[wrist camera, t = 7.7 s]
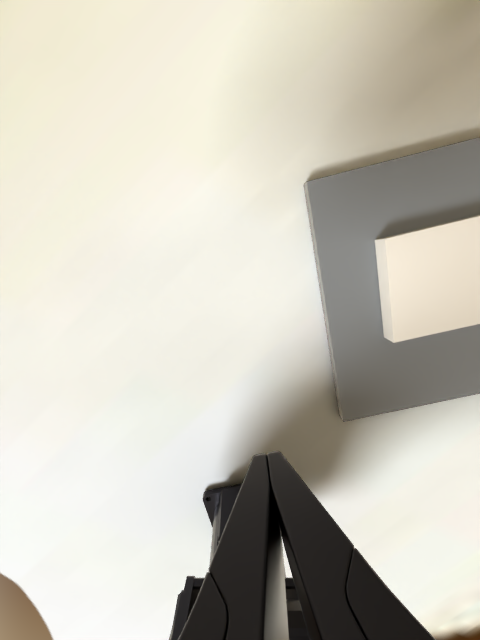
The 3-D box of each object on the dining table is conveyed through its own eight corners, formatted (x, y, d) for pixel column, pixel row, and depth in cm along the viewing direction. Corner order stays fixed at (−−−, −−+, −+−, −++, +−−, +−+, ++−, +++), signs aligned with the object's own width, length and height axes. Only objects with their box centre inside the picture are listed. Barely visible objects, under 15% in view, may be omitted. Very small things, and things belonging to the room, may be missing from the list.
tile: (383, 336, 18) (508, 309, 18) (393, 342, 17) (528, 312, 17) (374, 239, 17) (512, 206, 16) (385, 238, 16) (535, 202, 15)
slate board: (536, 374, 20) (547, 379, 20) (339, 415, 21) (343, 421, 20) (554, 120, 16) (571, 113, 15) (303, 184, 17) (306, 181, 16)
